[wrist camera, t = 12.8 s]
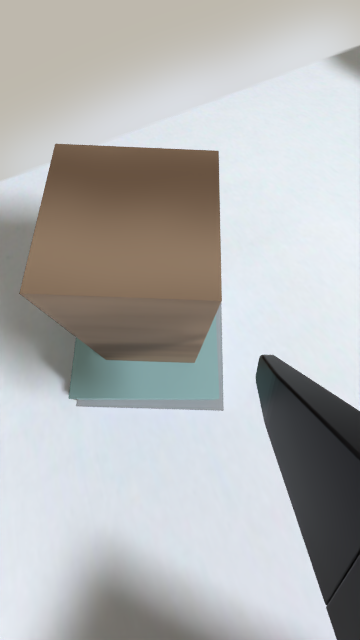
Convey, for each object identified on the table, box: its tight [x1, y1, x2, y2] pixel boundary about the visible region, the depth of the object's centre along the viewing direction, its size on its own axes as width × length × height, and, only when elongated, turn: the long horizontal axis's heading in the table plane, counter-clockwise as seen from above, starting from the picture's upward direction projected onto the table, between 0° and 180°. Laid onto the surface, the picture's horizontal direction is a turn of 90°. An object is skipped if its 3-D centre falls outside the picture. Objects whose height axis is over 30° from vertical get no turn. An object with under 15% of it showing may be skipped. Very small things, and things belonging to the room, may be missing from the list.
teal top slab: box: [69, 315, 219, 400], centre depth 19 cm, size 9×9×2 cm
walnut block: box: [19, 144, 222, 363], centre depth 13 cm, size 6×6×10 cm
